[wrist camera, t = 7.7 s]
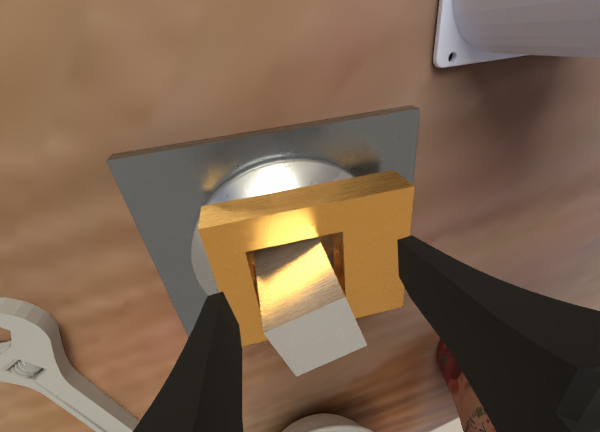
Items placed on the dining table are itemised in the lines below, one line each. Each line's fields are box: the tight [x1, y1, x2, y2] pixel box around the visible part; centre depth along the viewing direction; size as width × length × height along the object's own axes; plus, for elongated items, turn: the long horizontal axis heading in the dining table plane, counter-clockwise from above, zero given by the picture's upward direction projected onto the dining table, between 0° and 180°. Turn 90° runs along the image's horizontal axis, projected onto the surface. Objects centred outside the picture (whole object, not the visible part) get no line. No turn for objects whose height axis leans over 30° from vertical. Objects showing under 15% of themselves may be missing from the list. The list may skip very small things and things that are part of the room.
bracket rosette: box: [106, 105, 420, 346], centre depth 20 cm, size 18×16×4 cm
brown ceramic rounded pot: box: [437, 340, 496, 432], centre depth 29 cm, size 20×12×14 cm, turn 5°
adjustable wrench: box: [0, 297, 139, 432], centre depth 26 cm, size 25×6×2 cm, turn 11°
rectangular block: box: [253, 237, 367, 377], centre depth 18 cm, size 4×4×7 cm
